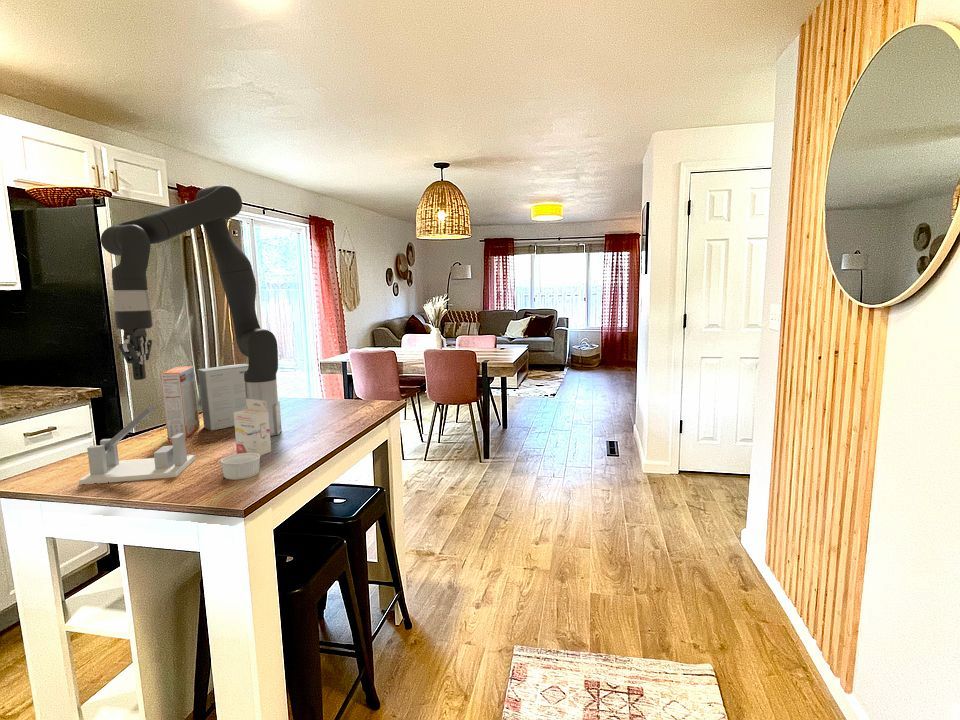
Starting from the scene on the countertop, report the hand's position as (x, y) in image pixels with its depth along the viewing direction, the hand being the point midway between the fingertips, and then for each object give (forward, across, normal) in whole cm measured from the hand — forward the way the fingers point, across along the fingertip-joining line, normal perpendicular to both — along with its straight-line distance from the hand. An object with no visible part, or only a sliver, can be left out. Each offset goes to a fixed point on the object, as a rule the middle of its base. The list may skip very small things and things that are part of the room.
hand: (140, 379), depth 130 cm
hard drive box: (+24, +45, -8) cm, 51 cm away
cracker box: (+24, +37, +4) cm, 44 cm away
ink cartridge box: (+24, +9, -23) cm, 34 cm away
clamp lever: (+14, 0, +4) cm, 14 cm away
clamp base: (+24, 0, +2) cm, 24 cm away
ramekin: (+24, -9, -24) cm, 35 cm away
